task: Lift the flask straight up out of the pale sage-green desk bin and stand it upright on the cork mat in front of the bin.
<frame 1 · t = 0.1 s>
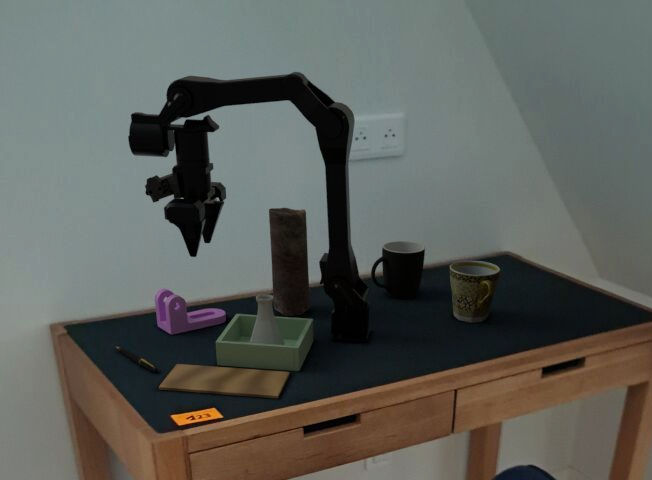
hand: (200, 249, 159), 15 cm above the table, tool pointing down, fingers open, 9 cm apart
ceramic cup: (473, 320, 174), on the table
bracket: (194, 324, 168), on the table
mug: (395, 296, 186), on the table
bin: (267, 352, 157), on the table
cork mat: (225, 381, 145), on the table
flask: (267, 352, 156), resting in bin
candle: (291, 311, 176), on the table
fountain pen: (136, 362, 152), on the table
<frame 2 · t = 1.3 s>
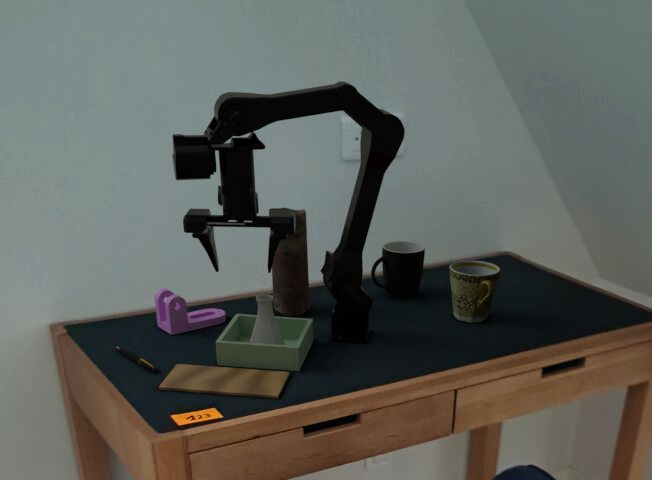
hand: (243, 271, 152), 13 cm above the table, tool pointing down, fingers open, 9 cm apart
nothing on the table moved.
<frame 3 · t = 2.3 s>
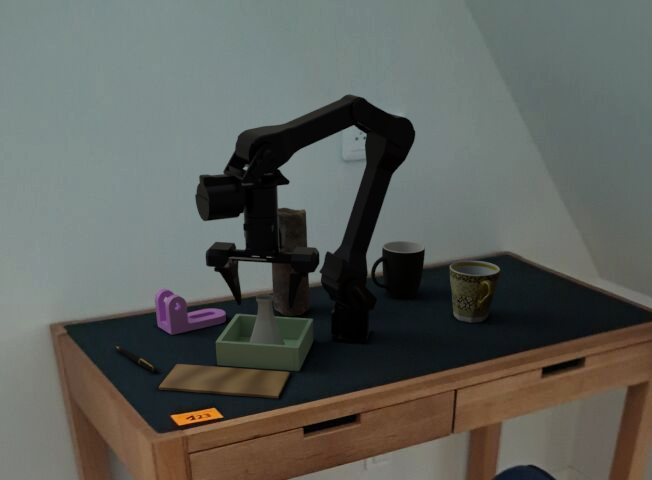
hand: (265, 306, 152), 9 cm above the table, tool pointing down, fingers open, 9 cm apart
nothing on the table moved.
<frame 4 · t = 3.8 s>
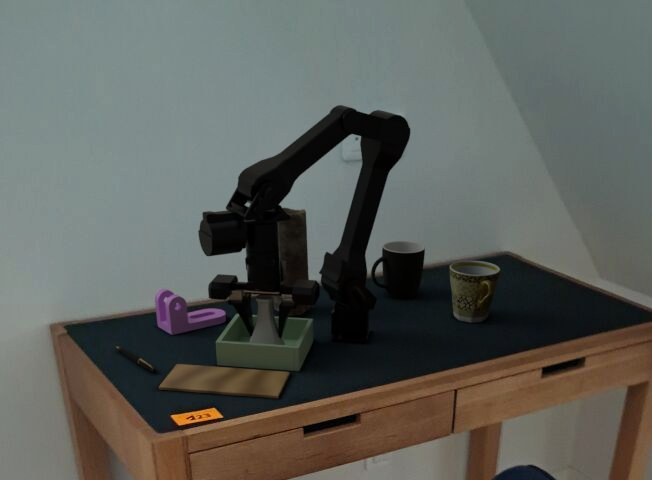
hand: (266, 336, 155), 3 cm above the table, tool pointing down, fingers closed on flask, 5 cm apart
flask: (267, 352, 156), resting in bin, touching gripper
everything else where it was.
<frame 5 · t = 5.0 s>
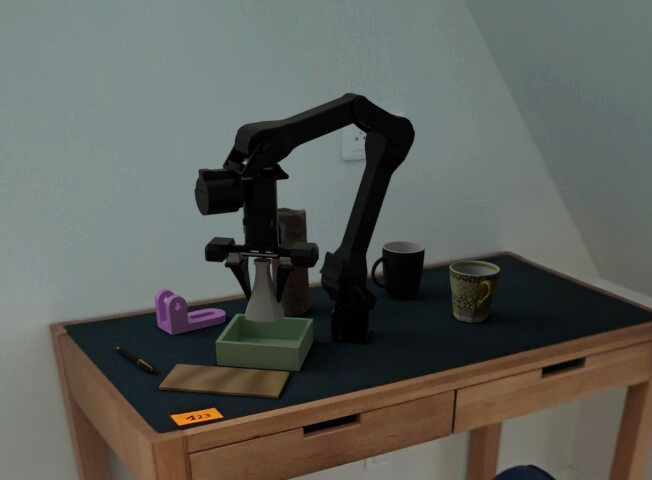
hand: (264, 301, 151), 9 cm above the table, tool pointing down, fingers closed on flask, 5 cm apart
flask: (264, 318, 153), point 7 cm above the table, touching gripper
everything else where it was.
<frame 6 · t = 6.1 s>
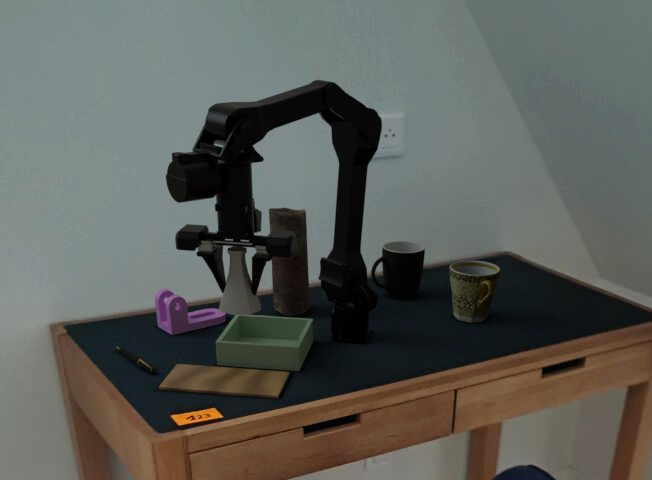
hand: (239, 293, 143), 13 cm above the table, tool pointing down, fingers closed on flask, 5 cm apart
flask: (240, 310, 145), point 10 cm above the table, touching gripper
everything else where it was.
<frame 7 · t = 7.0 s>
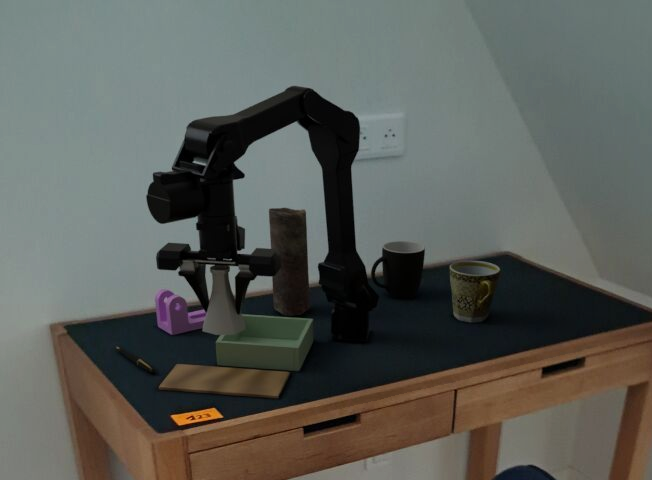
hand: (223, 312, 139), 12 cm above the table, tool pointing down, fingers closed on flask, 5 cm apart
flask: (224, 330, 141), point 9 cm above the table, touching gripper
everything else where it was.
when the fingers open (3 cm above the table, at t = 9.3 s): flask stays where it is, resting on cork mat.
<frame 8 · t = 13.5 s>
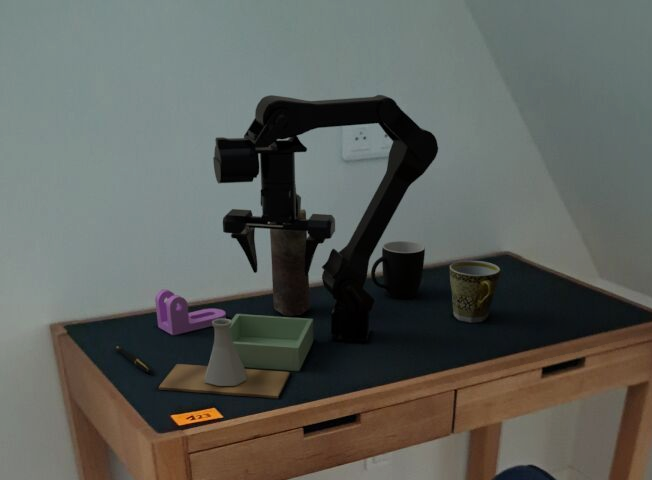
hand: (281, 273, 153), 13 cm above the table, tool pointing down, fingers open, 9 cm apart
flask: (226, 380, 145), resting on cork mat
everything else where it was.
at the end: flask inside the target area on the cork mat (0.1 cm from its centre), point 0.3 cm above the cork mat's base; flask tilted 0°; flask touching cork mat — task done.
